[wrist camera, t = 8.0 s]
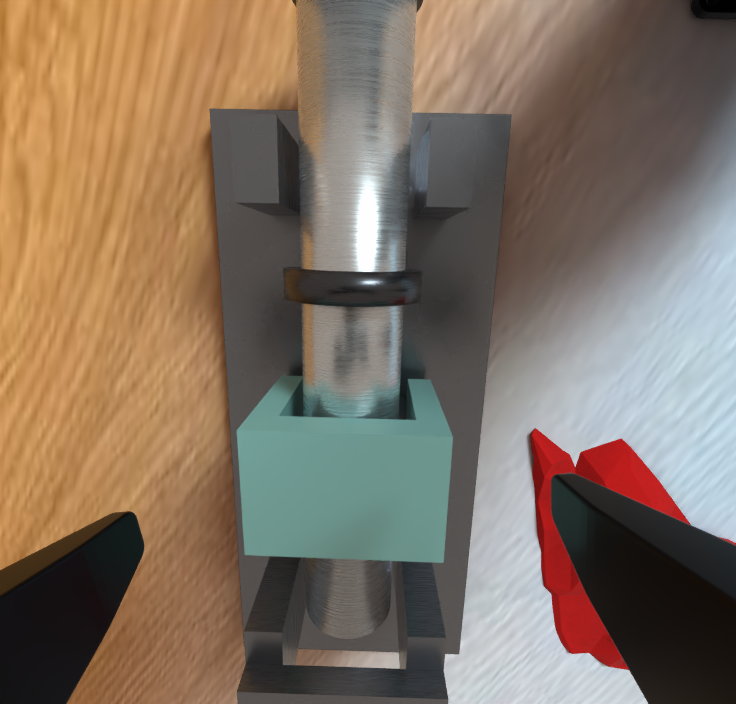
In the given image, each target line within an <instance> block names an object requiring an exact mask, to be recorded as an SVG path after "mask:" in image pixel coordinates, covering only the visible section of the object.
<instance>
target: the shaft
mask: <svg viewBox="0 0 736 704" xmlns="http://www.w3.org/2000/svg"><path fill="white" fill-rule="evenodd" d="M292 1H293V3H294V4H295V6H296V7H297V65H298V124H299V183H300V242H301V267H285V268H283V289H284V299H285V300H288V301H291V302H296V303H302V360H303V417H330V418H363V419H397V420H399V397H400V375H401V352H402V329H403V306H404V305H409V304H415V303H419V302H420V301H421V294H422V276H423V271H421V270H413V269H405V261H406V238H407V215H408V193H409V170H410V147H411V124H412V102H413V79H414V56H415V33H416V13H417V11H418V10H419V9H420V7H421V5H422V2H423V0H292ZM391 579H392V561H382V560H357V559H331V558H306V596H307V611H308V615H309V617H310V619H311V621H312V622H313V624H314V625H315V626H316V627H317V628H318V629H319V630H321V631H322V632H324V633H325V634H327V635H330V636H332V637H336V638H341V639H354V638H359V637H363V636H365V635H368V634H370V633H372V632H373V631H375V630H376V629H378V628H379V627H380V626H381V625H382V624H383V622H384V621H385V620H386V618H387V616H388V613H389V610H390V602H391Z"/></svg>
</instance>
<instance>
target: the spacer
mask: <svg viewBox="0 0 736 704" xmlns="http://www.w3.org/2000/svg"><path fill="white" fill-rule="evenodd" d="M237 444H238V459H239V475H240V490H241V506H242V521H243V537H244V552H245V555H254V556H280V557H306V558H331V559H357V560H382V561H408V562H433V563H444V550H445V537H446V523H447V510H448V497H449V484H450V471H451V457H452V444H453V436H452V433H451V431H450V428H449V426H448V423H447V420H446V418H445V415H444V413H443V410H442V408H441V405H440V403H439V400H438V398H437V395H436V392H435V390H434V387H433V385H432V382H431V380H429V379H408V382H407V405H406V420H397V419H363V418H330V417H303V376H284V375H281V377H280V378H279V379H278V380H277V381H276V383H275V384H274V385H273V386H272V388H271V389H270V390H269V391H268V393H267V394H266V395H265V396H264V397H263V399H262V400H261V401H260V402H259V404H258V405H257V406H256V407H255V408H254V410H253V411H252V412H251V413H250V415H249V416H248V417H247V418H246V420H245V421H244V422H243V423H242V424H241V426H240V427H239V428H238V429H237Z"/></svg>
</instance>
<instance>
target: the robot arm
mask: <svg viewBox="0 0 736 704" xmlns="http://www.w3.org/2000/svg"><path fill="white" fill-rule="evenodd" d="M691 9H692V12H693V14H694V15H695V16H696V17H698V18H711V19H736V0H711V5H710V4H708V3H707V2H706V0H692V2H691ZM551 513H552V517H553V521H554V523H555V525H556V528H557V530H558V532H559V534H560V537H561V539H562V541H563V543H564V546H565V548H566V550H567V552H568V555H569V557H570V559H571V562H572V564H573V566H574V568H575V571H576V573H577V575H578V577H579V580H580V582H581V584H582V586H583V588H584V590H585V592H586V594H587V596H588V598H589V600H590V602H591V604H592V605H593V607H594V609H595V611H596V612H597V614H598V616H599V618H600V619H601V621H602V623H603V625H604V626H605V628H606V630H607V632H608V634H609V635H610V637H611V639H612V641H613V642H614V644H615V646H616V648H617V649H618V651H619V653H620V655H621V656H622V658H623V660H624V662H625V663H626V665H627V667H628V669H629V670H630V672H631V674H632V676H633V677H634V679H635V681H636V683H637V684H638V686H639V688H640V690H641V691H642V693H643V695H644V697H645V698H646V700H647V702H648V704H736V545H734V544H732V543H730V542H727V541H725V540H723V539H721V538H718V537H716V536H714V535H712V534H709V533H707V532H705V531H703V530H700V529H698V528H696V527H694V526H691V525H689V524H687V523H685V522H682V521H680V520H678V519H676V518H673V517H671V516H669V515H667V514H664V513H662V512H660V511H658V510H655V509H653V508H651V507H649V506H646V505H644V504H642V503H640V502H637V501H635V500H633V499H631V498H629V497H626V496H624V495H622V494H620V493H617V492H615V491H613V490H611V489H608V488H606V487H604V486H602V485H599V484H597V483H595V482H593V481H590V480H588V479H586V478H584V477H581V476H579V475H577V474H574V473H563V474H555V475H553V477H552V479H551ZM143 552H144V541H143V538H142V534H141V531H140V527H139V524H138V520H137V517H136V515H135V514H134V513H133V512H130V511H127V512H116V513H112V514H109V515H107V516H106V517H104V518H102V519H100V520H98V521H96V522H94V523H92V524H90V525H88V526H86V527H84V528H82V529H80V530H78V531H76V532H74V533H72V534H70V535H68V536H66V537H64V538H62V539H61V540H59V541H57V542H55V543H53V544H51V545H49V546H47V547H45V548H43V549H41V550H39V551H37V552H35V553H33V554H31V555H29V556H27V557H25V558H23V559H21V560H19V561H17V562H16V563H14V564H12V565H10V566H8V567H6V568H4V569H2V570H0V704H67V702H68V700H69V698H70V697H71V695H72V693H73V691H74V689H75V688H76V686H77V684H78V682H79V681H80V679H81V677H82V675H83V674H84V672H85V670H86V668H87V666H88V665H89V663H90V661H91V659H92V658H93V656H94V654H95V652H96V650H97V649H98V647H99V645H100V643H101V642H102V640H103V638H104V636H105V634H106V632H107V631H108V629H109V627H110V625H111V623H112V621H113V618H114V616H115V614H116V612H117V610H118V608H119V606H120V603H121V601H122V599H123V597H124V595H125V593H126V590H127V588H128V586H129V584H130V582H131V580H132V577H133V575H134V573H135V571H136V569H137V566H138V564H139V562H140V560H141V558H142V555H143Z"/></svg>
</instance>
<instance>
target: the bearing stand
mask: <svg viewBox="0 0 736 704" xmlns="http://www.w3.org/2000/svg"><path fill="white" fill-rule="evenodd" d="M511 116H512V115H506V114H455V113H412V124H411V147H410V170H409V193H408V215H407V238H406V261H405V269H413V270H421V271H423V276H422V294H421V301H420V302H419V303H415V304H409V305H404V306H403V329H402V352H401V375H400V397H399V420H406V405H407V382H408V379H429V380H431V382H432V385H433V387H434V390H435V392H436V395H437V398H438V400H439V403H440V405H441V408H442V410H443V413H444V415H445V418H446V420H447V423H448V426H449V428H450V431H451V433H452V436H453V444H452V457H451V471H450V484H449V497H448V510H447V523H446V537H445V550H444V563H433V562H408V561H392V579H391V602H390V610H389V613H388V616H387V618H386V620H385V621H384V622H383V624H382V625H381V626H380V627H379V628H378V629H376V630H375V631H373V632H372V633H370V634H368V635H365V636H363V637H359V638H354V639H341V638H336V637H332V636H330V635H327V634H325V633H324V632H322V631H321V630H319V629H318V628H317V627H316V626H315V625H314V624H313V622H312V621H311V619H310V617H309V615H308V611H307V596H306V557H280V556H254V555H245V552H244V537H243V521H242V506H241V490H240V475H239V459H238V444H237V429H238V428H239V427H240V426H241V424H242V423H243V422H244V421H245V420H246V418H247V417H248V416H249V415H250V413H251V412H252V411H253V410H254V408H255V407H256V406H257V405H258V404H259V402H260V401H261V400H262V399H263V397H264V396H265V395H266V394H267V393H268V391H269V390H270V389H271V388H272V386H273V385H274V384H275V383H276V381H277V380H278V379H279V378H280V377H281V375H284V376H303V360H302V303H296V302H291V301H288V300H285V299H284V289H283V268H285V267H301V242H300V183H299V124H298V110H251V109H210V122H211V138H212V153H213V169H214V185H215V200H216V216H217V231H218V247H219V262H220V278H221V293H222V309H223V325H224V340H225V356H226V371H227V387H228V402H229V418H230V433H231V449H232V465H233V480H234V496H235V511H236V527H237V542H238V558H239V573H240V589H241V605H242V620H243V636H244V647H245V658H246V665H245V668H244V671H243V674H242V678H241V681H240V684H239V687H238V690H237V699H238V704H448V695H447V689H446V683H445V677H444V671H443V670H444V659H445V654H459V650H460V639H461V629H462V619H463V609H464V598H465V588H466V578H467V568H468V557H469V547H470V537H471V527H472V516H473V506H474V496H475V485H476V475H477V465H478V455H479V444H480V434H481V424H482V414H483V403H484V393H485V383H486V372H487V362H488V352H489V342H490V331H491V321H492V311H493V301H494V290H495V280H496V270H497V260H498V249H499V239H500V229H501V218H502V208H503V198H504V188H505V177H506V167H507V157H508V147H509V136H510V126H511ZM298 649H320V650H349V651H378V652H399V661H400V669H386V668H357V667H328V666H299V665H295V661H296V656H297V651H298Z"/></svg>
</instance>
